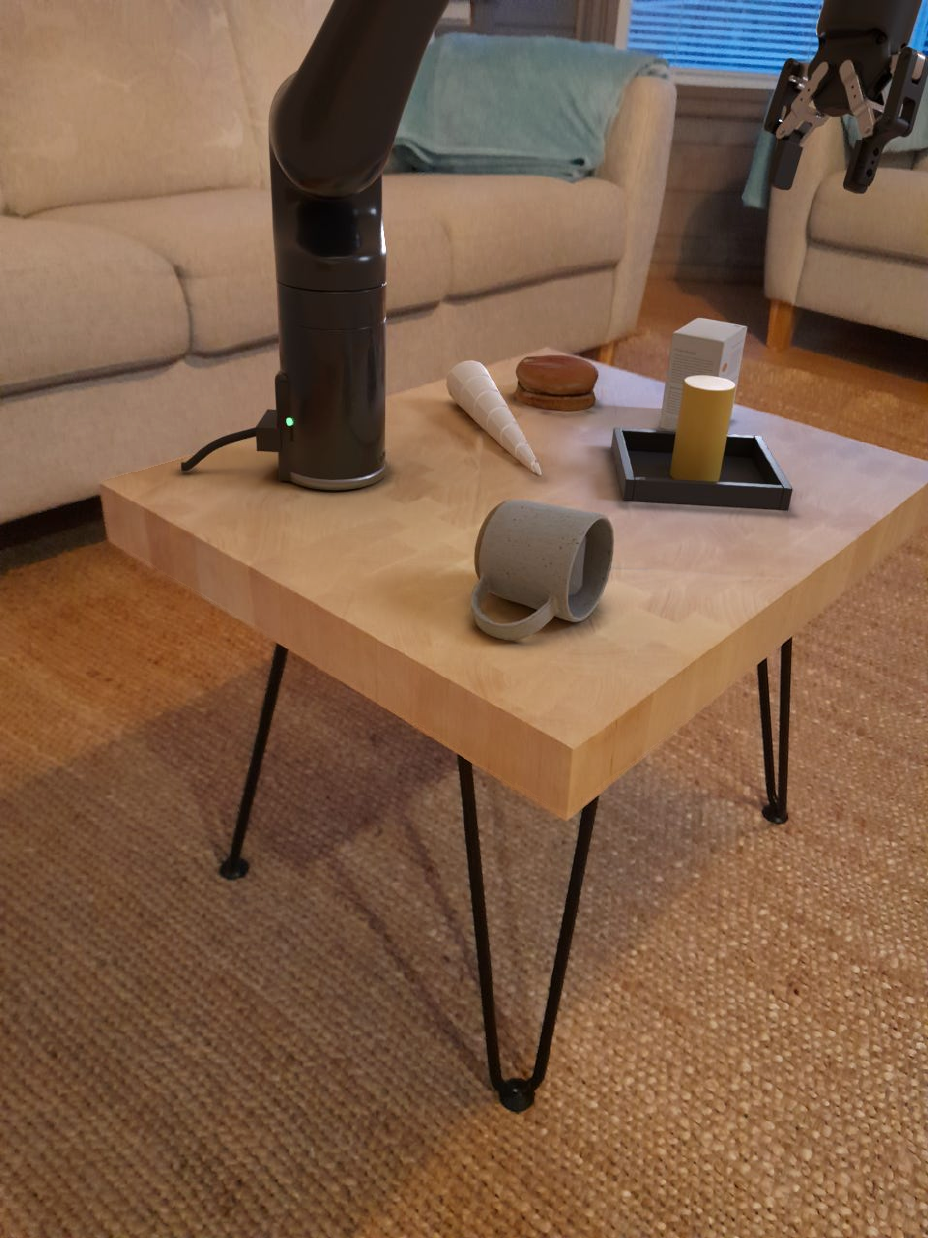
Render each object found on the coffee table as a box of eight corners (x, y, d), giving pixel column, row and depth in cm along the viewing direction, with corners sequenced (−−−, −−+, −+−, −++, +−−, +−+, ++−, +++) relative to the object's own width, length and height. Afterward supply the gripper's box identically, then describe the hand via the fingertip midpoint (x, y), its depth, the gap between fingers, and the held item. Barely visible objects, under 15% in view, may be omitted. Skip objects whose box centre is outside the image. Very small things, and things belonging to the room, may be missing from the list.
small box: (683, 411, 116) (697, 316, 111) (731, 421, 114) (749, 324, 109) (656, 431, 110) (670, 330, 105) (707, 442, 108) (724, 340, 103)
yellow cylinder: (673, 484, 96) (687, 388, 92) (666, 466, 100) (680, 373, 96) (723, 487, 96) (740, 391, 92) (714, 468, 100) (730, 376, 96)
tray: (622, 505, 92) (625, 479, 91) (610, 451, 104) (613, 427, 103) (787, 515, 92) (793, 488, 91) (756, 459, 104) (761, 435, 103)
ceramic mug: (513, 567, 81) (519, 475, 77) (610, 596, 77) (622, 501, 73) (441, 625, 73) (444, 526, 69) (545, 661, 69) (554, 558, 65)
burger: (599, 416, 113) (603, 374, 111) (513, 412, 113) (516, 370, 111) (593, 389, 122) (597, 350, 120) (513, 385, 122) (516, 346, 120)
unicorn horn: (501, 482, 96) (504, 432, 93) (444, 401, 116) (445, 358, 113) (550, 480, 97) (555, 430, 94) (485, 400, 117) (487, 357, 114)
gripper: (783, -27, 88) (726, 176, 93) (923, -53, 76) (850, 180, 81) (842, 5, 92) (785, 198, 97) (983, -16, 80) (910, 204, 85)
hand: (814, 189), depth 89 cm, fingers open, 8 cm apart
